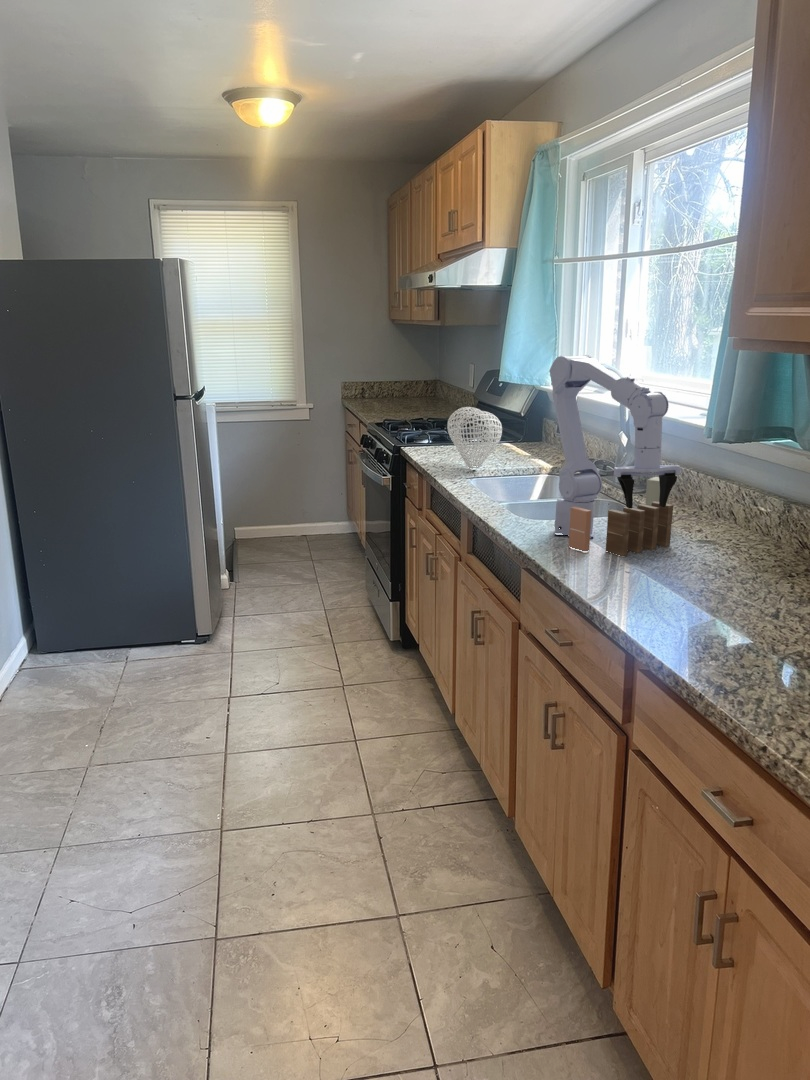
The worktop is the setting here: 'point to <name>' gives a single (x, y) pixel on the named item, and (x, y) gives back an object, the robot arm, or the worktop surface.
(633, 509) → the walnut tile
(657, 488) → the skincare box
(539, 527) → the worktop surface
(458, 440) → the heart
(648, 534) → the walnut tile
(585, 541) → the terracotta tile
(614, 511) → the walnut tile
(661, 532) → the walnut tile
